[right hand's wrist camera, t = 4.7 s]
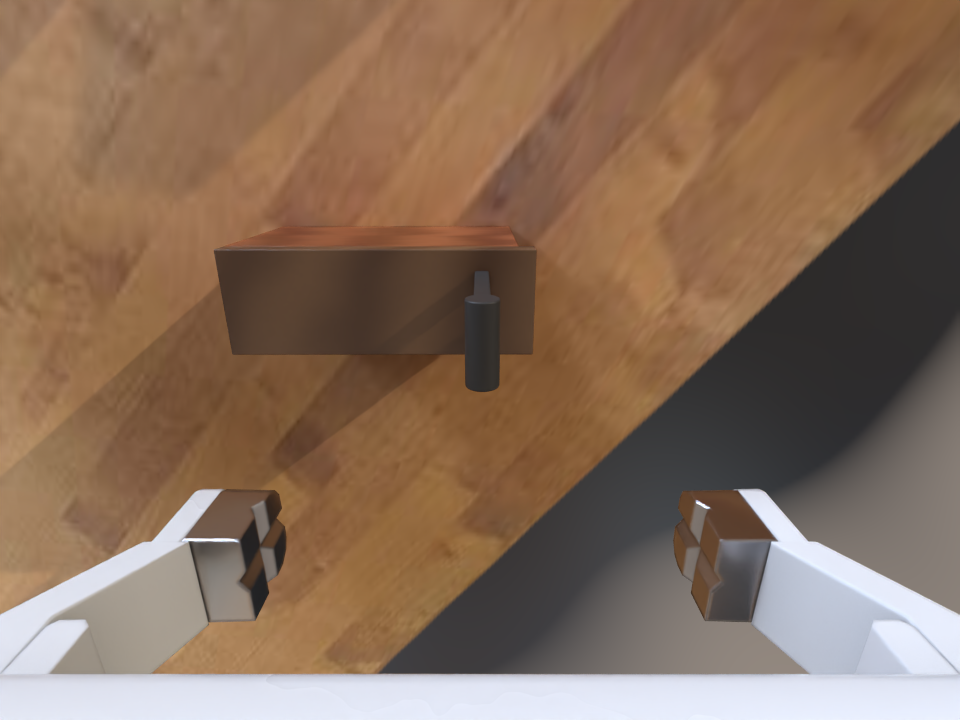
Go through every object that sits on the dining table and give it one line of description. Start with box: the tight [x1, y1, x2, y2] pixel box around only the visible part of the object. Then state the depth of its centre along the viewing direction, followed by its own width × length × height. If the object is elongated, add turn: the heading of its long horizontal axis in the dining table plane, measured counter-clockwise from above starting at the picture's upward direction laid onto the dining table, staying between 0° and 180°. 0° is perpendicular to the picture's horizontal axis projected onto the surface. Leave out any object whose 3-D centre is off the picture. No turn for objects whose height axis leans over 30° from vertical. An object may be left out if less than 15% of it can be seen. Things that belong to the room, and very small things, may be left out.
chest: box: [227, 226, 518, 246], centre depth 32 cm, size 15×6×9 cm, turn 90°
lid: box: [214, 246, 537, 392], centre depth 24 cm, size 16×6×8 cm, turn 90°
